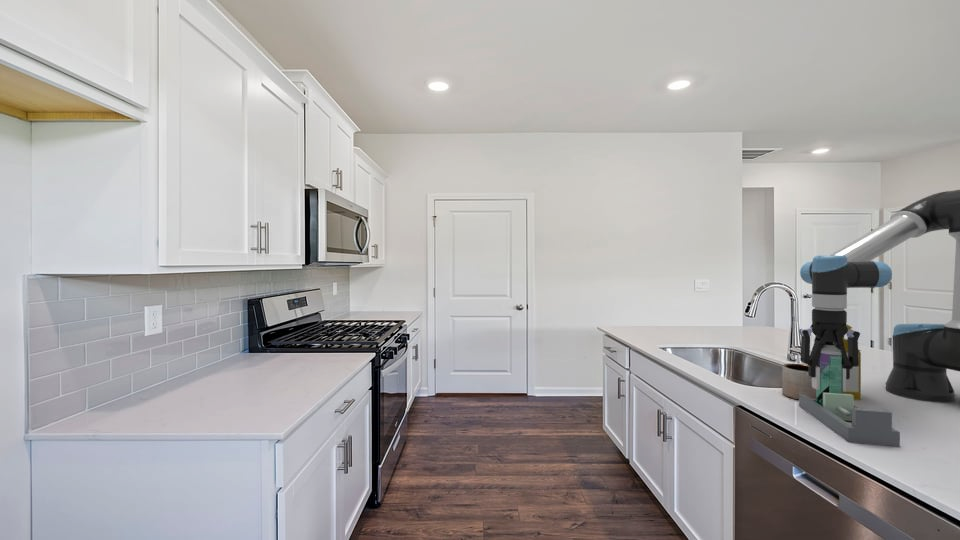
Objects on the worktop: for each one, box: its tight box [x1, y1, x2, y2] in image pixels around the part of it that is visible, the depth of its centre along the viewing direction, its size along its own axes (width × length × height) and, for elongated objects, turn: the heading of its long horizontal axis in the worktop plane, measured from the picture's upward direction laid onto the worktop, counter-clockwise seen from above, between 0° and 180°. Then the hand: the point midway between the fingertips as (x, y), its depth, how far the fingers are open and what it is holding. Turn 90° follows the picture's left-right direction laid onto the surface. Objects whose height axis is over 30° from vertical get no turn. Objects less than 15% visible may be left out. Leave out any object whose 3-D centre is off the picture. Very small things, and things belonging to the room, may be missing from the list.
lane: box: [798, 394, 901, 447], centre depth 108 cm, size 10×25×8 cm, turn 163°
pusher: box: [823, 393, 855, 422], centre depth 108 cm, size 6×5×7 cm
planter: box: [781, 363, 816, 401], centre depth 129 cm, size 11×11×10 cm
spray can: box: [816, 341, 842, 406], centre depth 114 cm, size 6×6×20 cm
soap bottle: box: [841, 323, 862, 401], centre depth 127 cm, size 7×13×24 cm, turn 158°
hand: (828, 389), depth 114 cm, fingers closed on spray can, 5 cm apart
